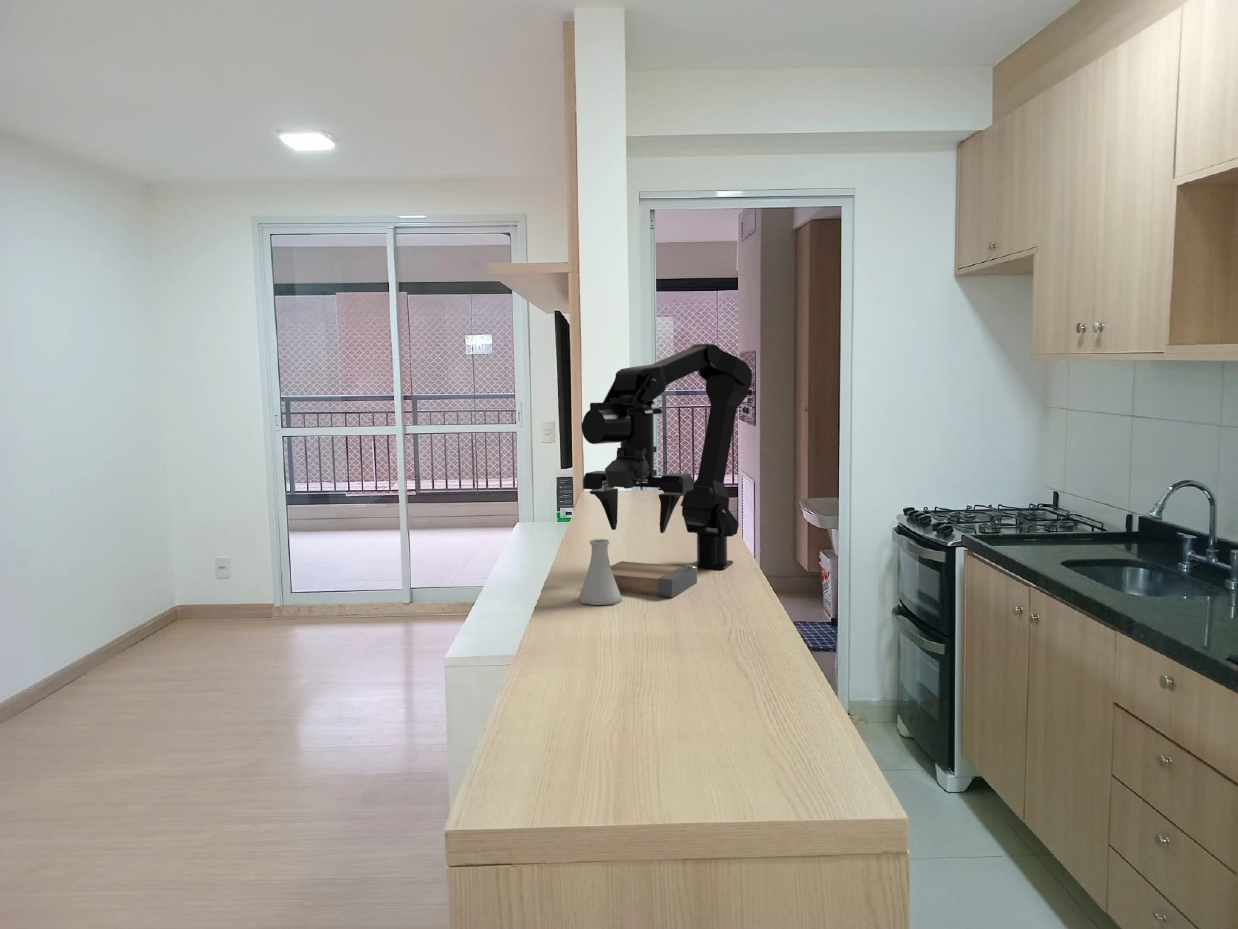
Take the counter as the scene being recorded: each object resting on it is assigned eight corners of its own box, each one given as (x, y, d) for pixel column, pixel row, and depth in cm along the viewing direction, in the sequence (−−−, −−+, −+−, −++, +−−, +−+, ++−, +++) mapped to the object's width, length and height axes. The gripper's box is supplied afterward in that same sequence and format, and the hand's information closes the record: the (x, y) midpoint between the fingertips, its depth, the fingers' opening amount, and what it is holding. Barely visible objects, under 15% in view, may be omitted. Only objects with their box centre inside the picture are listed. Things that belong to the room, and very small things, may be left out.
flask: (618, 607, 136) (618, 545, 135) (574, 606, 137) (572, 544, 136) (625, 596, 143) (624, 537, 142) (582, 595, 144) (582, 536, 143)
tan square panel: (621, 577, 157) (621, 561, 157) (682, 583, 152) (682, 566, 151) (594, 590, 147) (593, 573, 147) (658, 596, 142) (658, 579, 142)
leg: (686, 581, 152) (686, 564, 152) (699, 582, 151) (699, 565, 151) (658, 596, 141) (657, 578, 141) (672, 597, 140) (671, 579, 140)
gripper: (566, 443, 144) (568, 535, 145) (670, 444, 136) (670, 542, 137) (596, 439, 154) (597, 525, 155) (694, 441, 146) (694, 531, 147)
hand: (637, 531), depth 148 cm, fingers open, 9 cm apart
